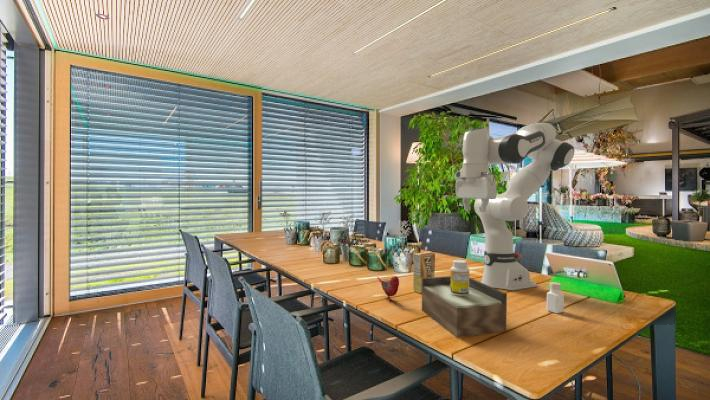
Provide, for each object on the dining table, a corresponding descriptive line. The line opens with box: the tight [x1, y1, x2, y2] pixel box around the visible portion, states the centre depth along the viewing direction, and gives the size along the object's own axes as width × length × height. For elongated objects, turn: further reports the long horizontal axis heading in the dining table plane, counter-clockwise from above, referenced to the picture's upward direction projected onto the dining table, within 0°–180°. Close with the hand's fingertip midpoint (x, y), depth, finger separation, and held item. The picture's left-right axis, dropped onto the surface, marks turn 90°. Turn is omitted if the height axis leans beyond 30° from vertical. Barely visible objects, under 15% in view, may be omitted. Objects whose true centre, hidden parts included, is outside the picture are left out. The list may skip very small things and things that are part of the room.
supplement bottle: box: [450, 259, 470, 296], centre depth 106 cm, size 6×6×10 cm
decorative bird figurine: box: [377, 275, 400, 302], centre depth 128 cm, size 3×18×10 cm, turn 22°
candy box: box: [412, 251, 436, 294], centre depth 139 cm, size 9×4×15 cm, turn 129°
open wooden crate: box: [421, 275, 508, 338], centre depth 107 cm, size 16×22×11 cm
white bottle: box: [546, 281, 565, 314], centre depth 115 cm, size 4×4×10 cm
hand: (474, 211), depth 123 cm, fingers open, 8 cm apart
